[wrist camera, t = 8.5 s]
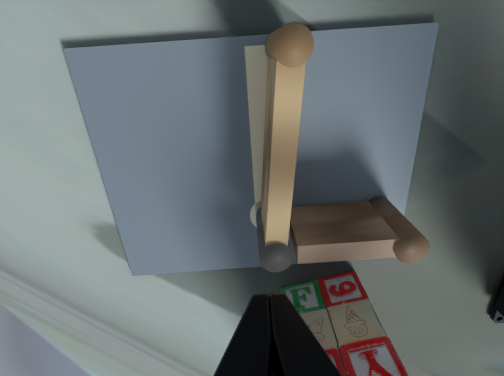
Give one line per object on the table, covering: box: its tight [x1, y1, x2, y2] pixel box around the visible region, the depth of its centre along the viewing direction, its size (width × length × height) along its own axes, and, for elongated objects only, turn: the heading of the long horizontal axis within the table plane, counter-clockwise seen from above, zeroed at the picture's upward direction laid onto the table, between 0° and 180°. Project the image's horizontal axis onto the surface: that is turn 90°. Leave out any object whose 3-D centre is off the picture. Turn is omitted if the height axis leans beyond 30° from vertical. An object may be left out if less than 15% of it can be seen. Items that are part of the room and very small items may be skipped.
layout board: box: [63, 22, 439, 276], centre depth 19 cm, size 20×16×1 cm
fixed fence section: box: [289, 196, 429, 264], centre depth 18 cm, size 7×2×5 cm, turn 94°
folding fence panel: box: [256, 22, 314, 272], centre depth 16 cm, size 12×2×5 cm, turn 178°
